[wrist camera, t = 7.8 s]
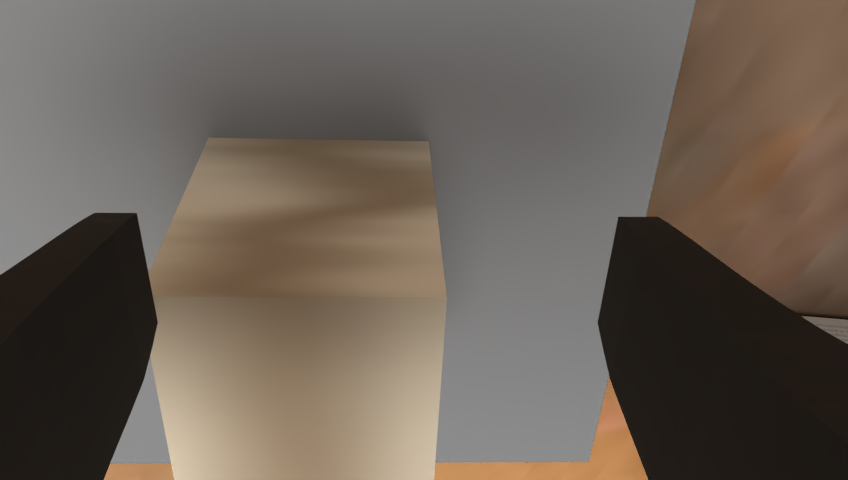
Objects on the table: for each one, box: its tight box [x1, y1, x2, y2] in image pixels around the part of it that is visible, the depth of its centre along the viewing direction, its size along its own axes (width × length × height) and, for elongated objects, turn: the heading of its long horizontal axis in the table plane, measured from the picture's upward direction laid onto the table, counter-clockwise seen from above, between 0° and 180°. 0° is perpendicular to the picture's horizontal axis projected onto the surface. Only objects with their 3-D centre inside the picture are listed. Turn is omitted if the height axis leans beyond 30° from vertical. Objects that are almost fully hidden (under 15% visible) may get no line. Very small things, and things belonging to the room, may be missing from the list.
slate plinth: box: [0, 0, 696, 464], centre depth 20 cm, size 16×16×2 cm
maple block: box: [149, 137, 447, 480], centre depth 17 cm, size 5×5×6 cm
